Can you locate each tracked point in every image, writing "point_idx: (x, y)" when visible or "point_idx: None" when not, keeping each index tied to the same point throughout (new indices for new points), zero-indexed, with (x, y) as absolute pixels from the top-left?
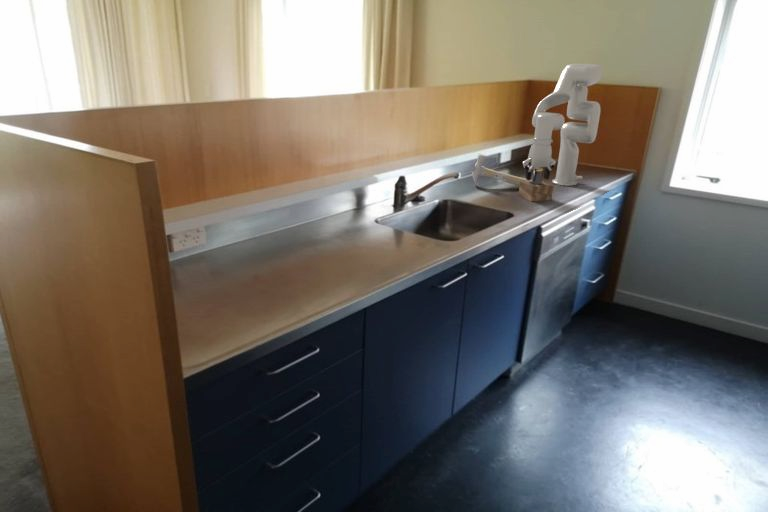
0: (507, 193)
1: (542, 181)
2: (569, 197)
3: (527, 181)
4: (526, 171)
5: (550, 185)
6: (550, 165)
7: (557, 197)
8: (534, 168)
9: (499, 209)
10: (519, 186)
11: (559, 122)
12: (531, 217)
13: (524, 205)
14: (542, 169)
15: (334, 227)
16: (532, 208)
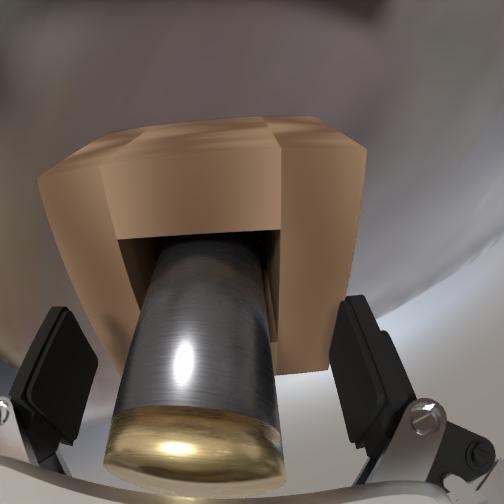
0: (50, 69)
1: (345, 226)
2: (455, 242)
3: (121, 201)
4: (13, 402)
5: (302, 368)
6: (455, 474)
7: (396, 230)
8: (113, 470)
9: (5, 351)
10: (68, 157)
11: None
12: (99, 419)
13: (91, 340)
14: (230, 497)
15: None
16: (119, 375)
